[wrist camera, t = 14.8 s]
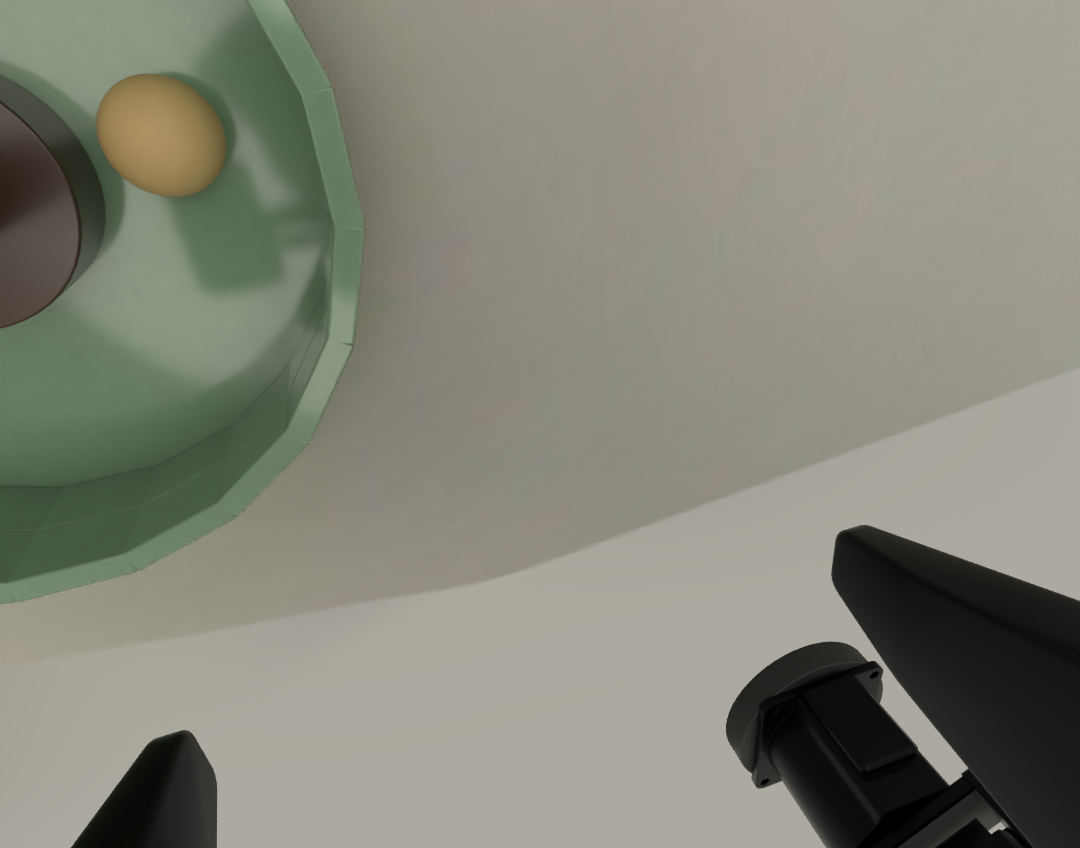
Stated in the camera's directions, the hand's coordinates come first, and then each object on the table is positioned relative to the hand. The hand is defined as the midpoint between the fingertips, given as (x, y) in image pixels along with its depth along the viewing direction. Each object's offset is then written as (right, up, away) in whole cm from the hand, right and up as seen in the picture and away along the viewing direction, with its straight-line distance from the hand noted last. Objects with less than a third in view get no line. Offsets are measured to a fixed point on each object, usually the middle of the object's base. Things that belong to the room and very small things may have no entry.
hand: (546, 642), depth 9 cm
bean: (-9, +9, +6) cm, 14 cm away
